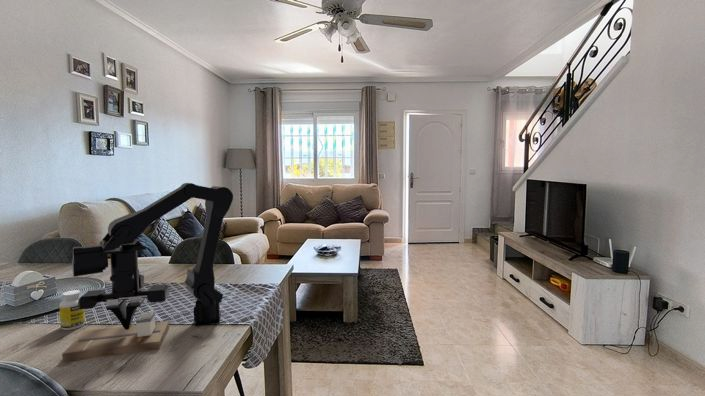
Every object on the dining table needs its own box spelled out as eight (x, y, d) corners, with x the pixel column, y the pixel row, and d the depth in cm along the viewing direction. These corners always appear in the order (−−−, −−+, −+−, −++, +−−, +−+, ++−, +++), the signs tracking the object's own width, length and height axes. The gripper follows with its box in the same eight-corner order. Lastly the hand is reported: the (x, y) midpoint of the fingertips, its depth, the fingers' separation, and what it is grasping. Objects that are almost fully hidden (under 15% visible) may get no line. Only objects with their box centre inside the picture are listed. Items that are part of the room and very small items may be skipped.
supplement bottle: (71, 331, 97) (69, 296, 96) (55, 329, 98) (53, 295, 97) (90, 323, 102) (88, 289, 101) (74, 321, 103) (72, 288, 103)
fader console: (169, 328, 99) (168, 320, 99) (159, 349, 88) (159, 341, 88) (84, 338, 93) (84, 330, 93) (62, 361, 82) (62, 353, 82)
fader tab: (155, 326, 95) (155, 311, 95) (151, 335, 90) (150, 319, 90) (142, 328, 94) (141, 312, 94) (136, 337, 89) (135, 320, 89)
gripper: (171, 258, 100) (173, 312, 101) (93, 263, 94) (97, 320, 96) (163, 269, 89) (165, 329, 91) (75, 275, 84) (79, 339, 85)
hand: (127, 328), depth 91 cm, fingers closed
